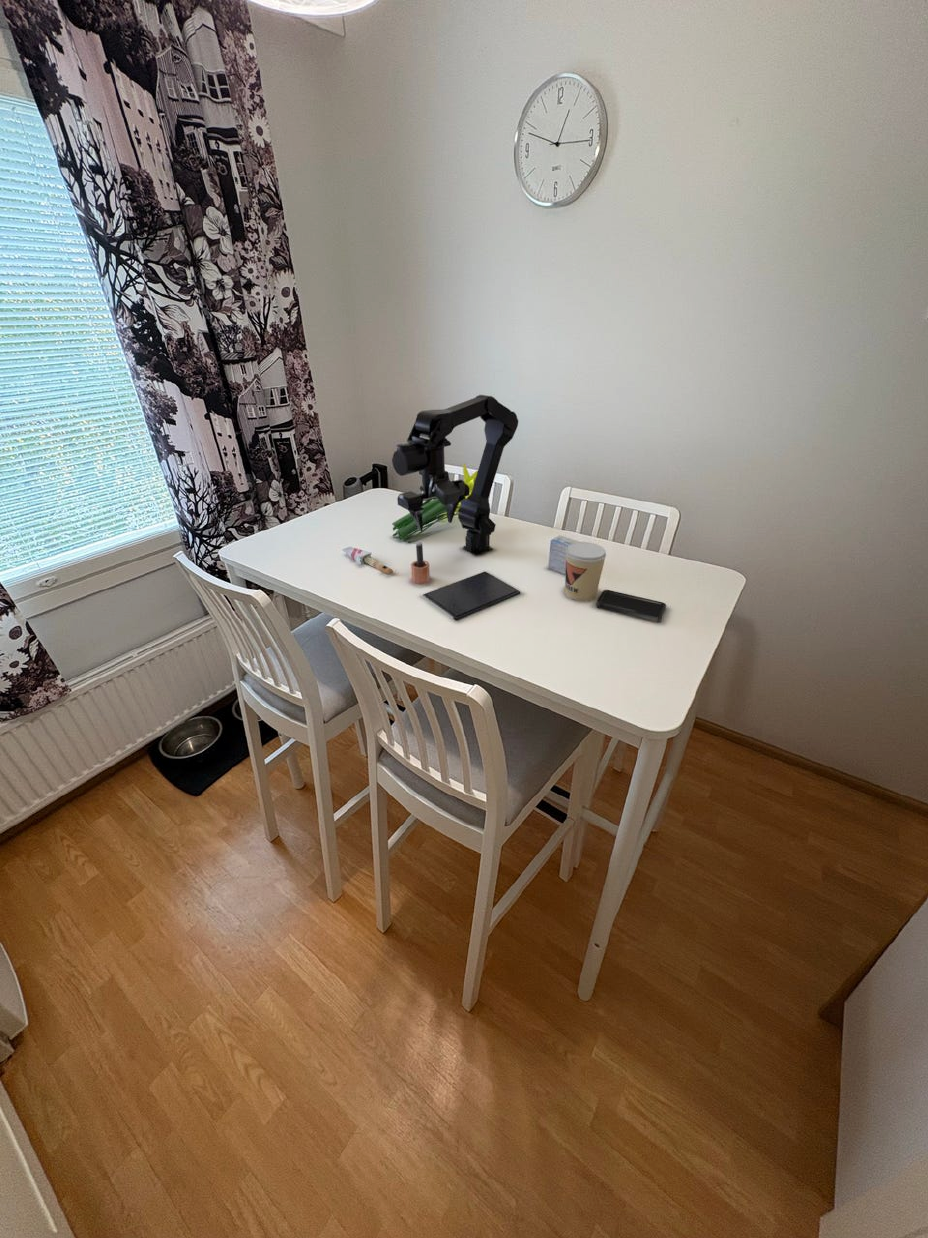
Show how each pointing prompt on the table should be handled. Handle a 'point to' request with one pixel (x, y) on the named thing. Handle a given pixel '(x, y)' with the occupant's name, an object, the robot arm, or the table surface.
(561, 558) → the medicine box
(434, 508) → the daffodil flowers
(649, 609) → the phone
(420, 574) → the pen cup
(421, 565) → the stylus
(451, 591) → the tablet
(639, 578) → the table surface
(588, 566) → the coffee cup
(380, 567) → the paintbrush
